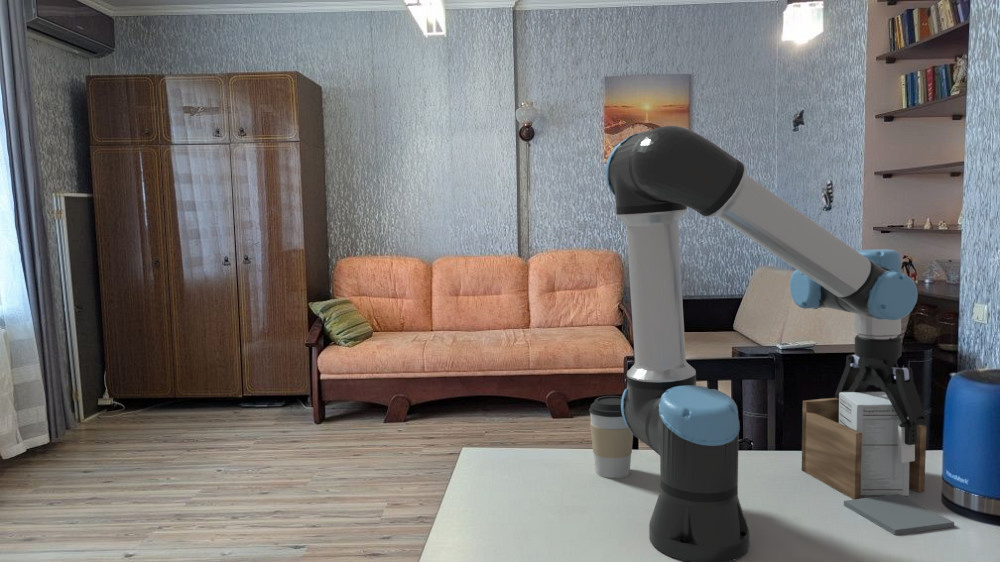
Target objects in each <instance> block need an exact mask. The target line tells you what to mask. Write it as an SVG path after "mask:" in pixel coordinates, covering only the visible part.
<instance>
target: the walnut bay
mask: <svg viewBox="0 0 1000 562" xmlns="http://www.w3.org/2000/svg"><path fill="white" fill-rule="evenodd" d="M801 421H802V427H801V429H802V431H801V471H802V472H804V473H806V475H807V474H808V475H809V476H811V477H812V478H815V479H816V480H818V481H820V482H821V483H823V484H825V485H827V486H829V487H831V488H833V490H834V489H835V490H836V491H838V492H839V493H841V494H843V495H846V496H847V497H849V498H850V499H851V500H854V499H862V498H861V497H862V495H861V457H862V433H861V432H859V431H856V430H854V429H851V428H849V427H847V426H844V425H842V424H840V423H839V399H837V398H836V397H829V398H818V399H807V400H802V419H801ZM926 449H927V426H926V425H918V426H917V443H916V444H915V461H911V462H909V489H912V490H913V491H915V492H918V493H923V492H925V488H926V487H925V484H926V483H925V480H926V457H927V456H926V453H927V450H926Z"/></svg>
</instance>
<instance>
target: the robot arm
mask: <svg viewBox="0 0 1000 562" xmlns="http://www.w3.org/2000/svg"><path fill="white" fill-rule="evenodd" d="M605 180H606V181H605V182H606V184H607V186H608V188H609V190H610V192H611V194H612V195H613V196H614V198H615V211H616V212H615V213H616V215H615V216H616V218H618V219H619V220H620V221H621V222H623V224H624V225H625V227H626V242H627V244H626V245H627V254H628V255H627V257H628V270H629V271H628V274H629V286H630V287H629V289H630V290H629V291H630V302H631V303H630V304H631V319H632V335H633V336H632V337H633V350H634V352H633V354H634V364H633V365H632V366H631V367H630V369H628V370H627V371H626V372H627V373H626V380H627V383H626V384H627V386H626V388H625V389H624V391H623V393H622V396H621V397H622V399H621V412H622V416H623V419H624V421H625V423H626V425H627V426H628V428H629V429H630V431H631V432H632V433H633V437H635V438H636V439H638V440H640V442H641V443H643V444H645V445H646V446H648V447H649V448H650V449H651V450H652V451H654V452H655V454H657V455H659V459H660V460H659V461H660V462H659V463H660V472H659V473H660V474H659V475H660V476H659V477H660V487H659V488H660V491H659V494H658V496H657V500H656V502H655V505H654V508H653V511H652V515H651V517H650V520H649V524H648V525H649V526H648V527H649V528H648V530H649V531H648V532H649V534H648V535H649V536H648V537H649V542H650V543H651V545H652V546H653V547H654V548H655V549H657V550H658V551H660V552H661V553H662V554H665V555H667V556H670V557H672V558H675V559H678V560H681V561H686V562H731V561H735V560H738V559H740V558H742V557H743V556H745V555H746V554H747V553H748V552H749V550H750V530H749V527H748V523H747V521H746V520H747V519H746V517H745V515H744V511H743V508H742V505H741V501H740V500H739V494H738V492H739V489H738V488H739V432H740V428H741V426H740V419H739V411H738V406H737V404H736V402H735V400H734V399H733V398H732V397H730V395H728V394H727V393H726V392H725V393H724V392H723V391H721V390H719V389H716V388H712V389H710V388H708V387H707V386H702V385H697V373H696V371H697V370H696V369H695V368H694V367H693V366H691V364H689V363H688V362H687V358H686V355H687V354H686V343H685V323H684V322H685V321H684V308H683V306H684V305H683V304H684V303H683V288H682V287H683V286H682V284H683V283H682V270H681V269H682V268H681V267H682V266H681V251H680V233H679V232H680V231H679V229H680V228H679V222H680V220H681V218H682V217H683V216H684V215H685V214H686V213H687V210H688V209H687V208H689V209H691V210H694V211H695V212H696V213H698V214H700V215H701V216H703V217H705V218H711V217H716V218H718V219H720V220H721V221H723V222H724V223H726V224H727V225H729V227H732V228H733V229H735V230H736V231H738V232H739V233H740V234H742V235H744V236H745V237H747V238H748V239H750V240H751V241H753V242H754V243H756V244H757V245H758V246H760V247H762V248H763V249H765V250H766V251H767V252H769V253H771V254H773V255H774V256H776V257H777V258H779V259H780V260H781V261H782V262H785V263H786V264H787V265H789V266H791V267H792V268H794V269H795V270H794V271H793V273H792V274H791V277H790V281H789V292H790V295H791V299H792V301H793V302H794V304H795V305H796V306H797V307H799V308H801V309H807V310H808V309H813V310H818V309H823V308H825V309H832V310H837V311H842V312H848V313H851V314H852V313H853V314H854V315H853V316H854V317H853V318H854V320H853V322H854V323H853V331H854V333H856V334H857V335H855V336H854V354H848V355H846V358H845V359H846V361H845V367H844V370H843V373H842V375H841V378H840V380H839V383H838V386H837V388H836V391H835V393H834V396H835V397H834V398H837V399H839V393H840V392H866V390H867V389H868V387H869V386H874V387H875V388H878V389H880V390H881V392H885V393H886V395H887V396H888V398H889V400H890V402H891V404H892V406H893V408H894V410H895V411H896V413H897V415H898V417H899V419H900V421H901V424H900V425H898V462H901V463H904V462H911V461H915V444H916V443H917V426H918V425H924V426H926V425H927V424H928V418H927V415H926V412H925V410H924V407H923V404H922V401H921V399H920V395H919V393H918V390H917V387H916V384H915V382H914V374H913V372H914V371H913V369H912V367H910V366H909V367H899V365H898V360H899V358H900V357H902V337H900V336H899V335H900V334H901V333H902V319H903V318H906V317H907V316H908V315H910V314H911V312H913V310H914V309H915V306H916V304H917V302H918V295H919V293H918V288H917V285H916V283H915V282H914V280H913V279H912V278H911V277H910V276H908V275H907V274H905V273H903V271H902V258H901V254H900V252H898V251H897V250H896V249H884V248H883V249H881V248H880V249H878V248H877V249H876V248H875V249H873V248H872V249H860V250H856V249H854V248H853V247H852V246H850V245H849V244H847V243H846V242H845V241H843V240H841V239H840V238H839V237H837V236H836V235H834V234H833V233H831V232H830V231H829V230H827V229H825V228H824V227H822V226H821V225H820V224H818V223H817V222H815V221H814V220H813V219H811V218H810V217H808V216H807V215H805V214H804V213H802V212H801V211H800V210H798V209H797V208H795V207H794V206H792V205H791V204H789V203H788V202H786V201H785V200H784V199H782V198H781V197H780V196H778V195H777V194H775V193H774V192H772V191H771V190H770V189H768V188H766V187H765V186H763V185H762V184H761V183H759V182H758V181H756V180H755V179H753V178H752V177H751V176H749V175H748V174H747V167H746V165H745V164H744V163H743V162H742V161H741V160H738V159H737V158H736V157H734V156H733V155H732V154H730V153H728V152H727V151H726V150H724V149H723V148H721V147H719V146H718V145H717V144H715V143H714V142H712V141H711V140H709V139H707V138H706V137H705V136H702V135H701V134H699V133H697V132H695V131H694V130H691V129H689V128H685V127H682V126H678V125H677V126H676V125H663V126H661V127H656V128H654V129H650V130H646V131H642V132H639V133H634V134H632V135H629V136H628V137H625V139H624V140H622V141H620V142H619V143H618V144H617V145H616V146H615V147H614V148H613V149H612V151H611V152H610V154H609V156H608V158H607V161H606V164H605ZM907 417H908V418H909V419H907Z"/></svg>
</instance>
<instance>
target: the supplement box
mask: <svg viewBox="0 0 1000 562" xmlns="http://www.w3.org/2000/svg"><path fill="white" fill-rule="evenodd" d="M907 419H909V418H908V417H907ZM839 423H840V424H842V425H844V426H847V427H849V428H851V429H854V430H856V431H859V432H861V433H862V457H861V496H887V495H895V494H899V495H901V496H903V497H906V496H910V488H909V462H904V463H901V462H898V425H900V424H901V421H900V419H899V417H898V415H897V413H896V411H895V410H894V408H893V406H892V404H891V402H890V400H889V398H888V396H887V395H886V393H885V392H883V391H864V392H844V391H843V392H840V393H839Z"/></svg>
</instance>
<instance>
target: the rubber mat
mask: <svg viewBox="0 0 1000 562" xmlns="http://www.w3.org/2000/svg"><path fill="white" fill-rule="evenodd" d="M843 506H845V507H846V508H848V509H850V510H851V511H853V512H855V513H856V514H858V515H860V516H862V517H863V518H865V519H866V520H868V521H870V522H871V523H874V524H876V525H877V526H879V527H880V528H882V529H884V530H885V531H887V532H890V533H891V534H892V535H894V536H896V535H903V534H912V533H919V532H920V533H921V532H925V531H934V530H940V529H948V527H950V528H954V527H955V521H954V520H951V519H949V518H947V517H945V516H944V515H941V514H939V513H937V512H935V511H933V510H931V509H930V508H927V507H925V506H923V505H921V504H919V503H917V502H916V501H913V500H911V499H909V498H907V497H906V496H901V495H899V494H895V495H887V496H881V495H878V496H871V497H865V498H863V497H862V498H860V499H848V500H847V499H846V500H843ZM953 526H954V527H953Z"/></svg>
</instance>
